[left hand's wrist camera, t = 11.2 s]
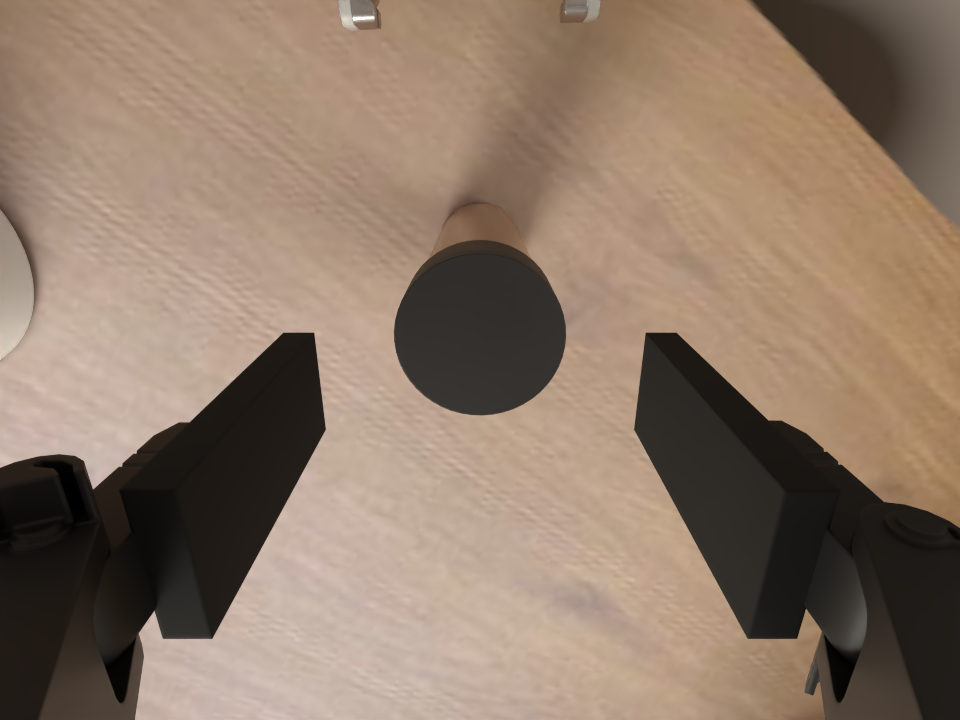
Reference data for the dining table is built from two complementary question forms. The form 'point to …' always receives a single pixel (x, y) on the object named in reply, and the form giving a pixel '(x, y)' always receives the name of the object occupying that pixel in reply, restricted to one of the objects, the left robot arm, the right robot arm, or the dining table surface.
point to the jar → (480, 227)
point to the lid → (480, 328)
